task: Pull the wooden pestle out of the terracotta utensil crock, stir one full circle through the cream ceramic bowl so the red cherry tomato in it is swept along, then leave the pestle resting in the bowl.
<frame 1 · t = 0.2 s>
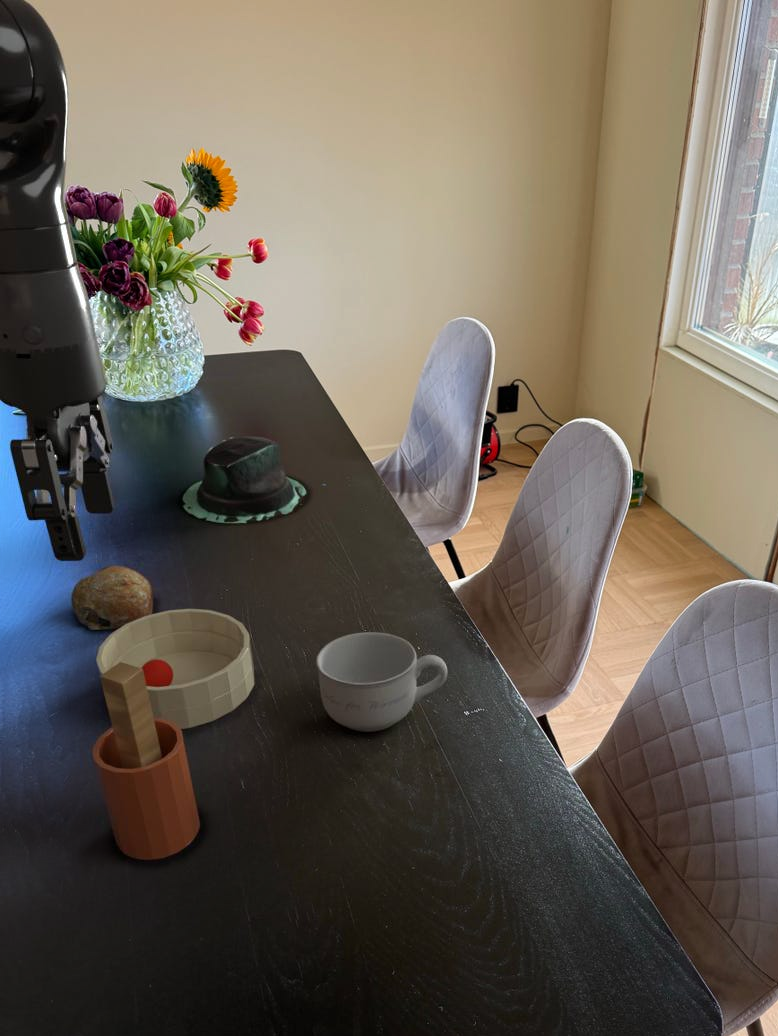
hand: (87, 534, 72), 28 cm above the table, tool pointing down, fingers open, 8 cm apart
dark fedora hat: (245, 498, 147), on the table
bowl: (182, 689, 102), on the table
bread roll: (117, 612, 116), on the table
wooden pestle: (158, 829, 82), point 1 cm above the table, touching crock
crock: (159, 834, 83), on the table
teacup: (383, 716, 99), on the table
tomato: (156, 675, 100), point 2 cm above the table, touching bowl
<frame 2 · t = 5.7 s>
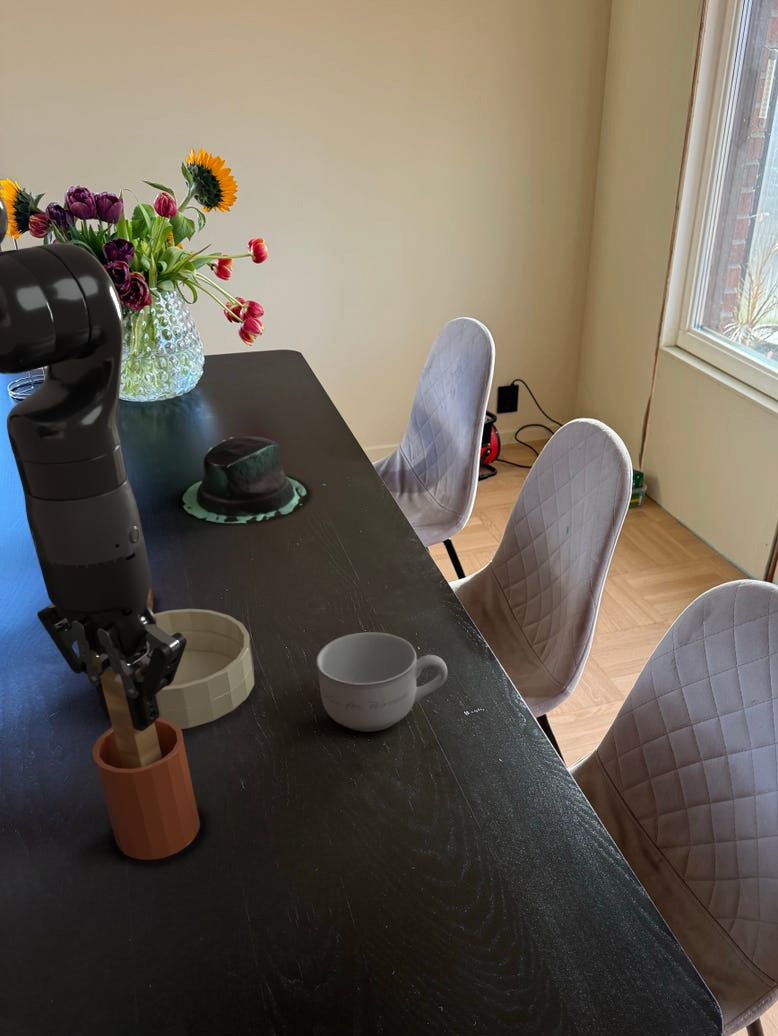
hand: (132, 719, 75), 14 cm above the table, tool pointing down, fingers closed on wooden pestle, 2 cm apart
wooden pestle: (158, 829, 82), point 1 cm above the table, touching crock, gripper
everything else where it was.
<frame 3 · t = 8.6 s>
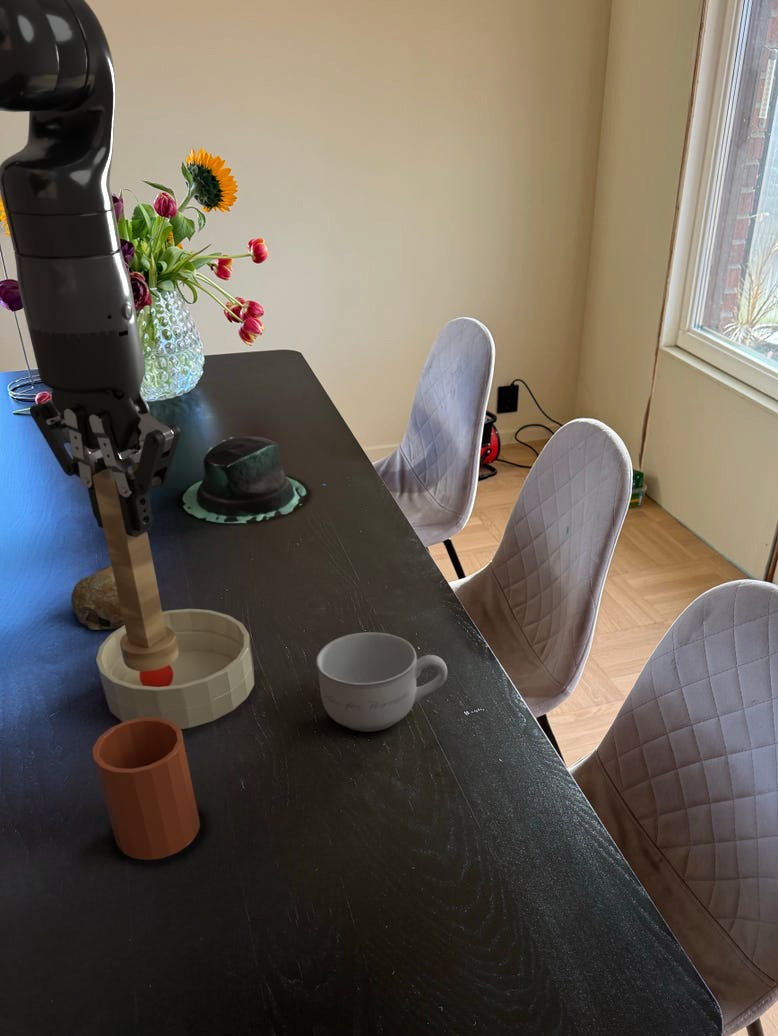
hand: (125, 528, 74), 28 cm above the table, tool pointing down, fingers closed on wooden pestle, 2 cm apart
wooden pestle: (151, 656, 81), point 15 cm above the table, touching gripper
everything else where it was.
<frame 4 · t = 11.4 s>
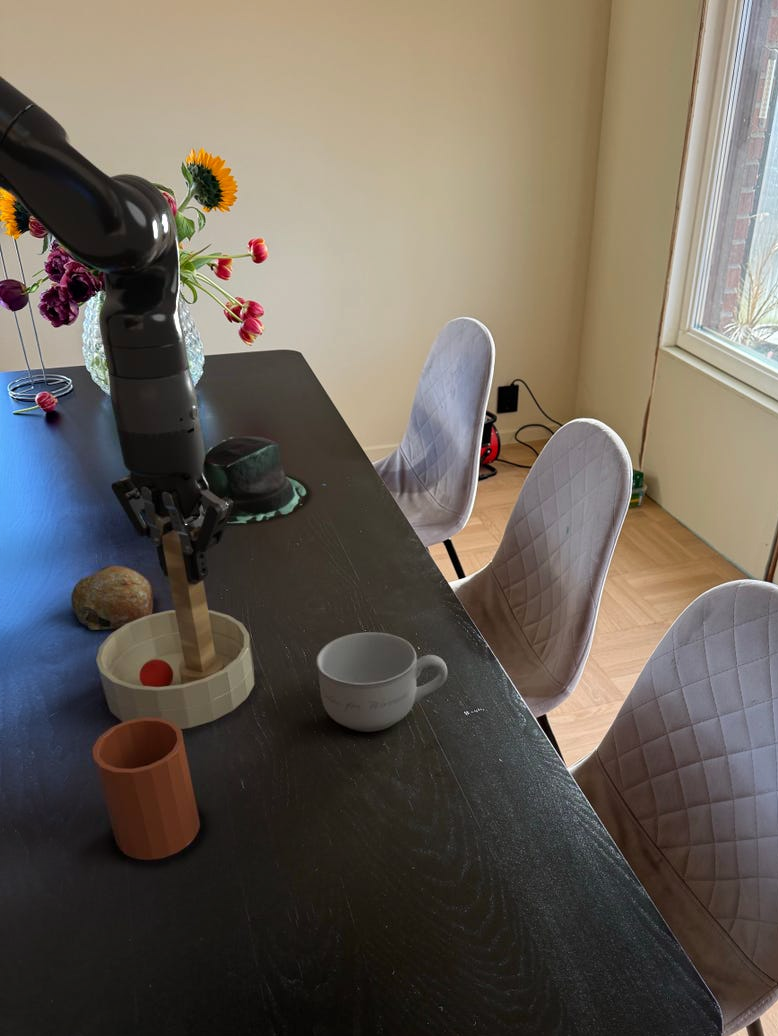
hand: (185, 577, 92), 16 cm above the table, tool pointing down, fingers closed on wooden pestle, 2 cm apart
wooden pestle: (203, 678, 99), point 2 cm above the table, touching gripper
everything else where it was.
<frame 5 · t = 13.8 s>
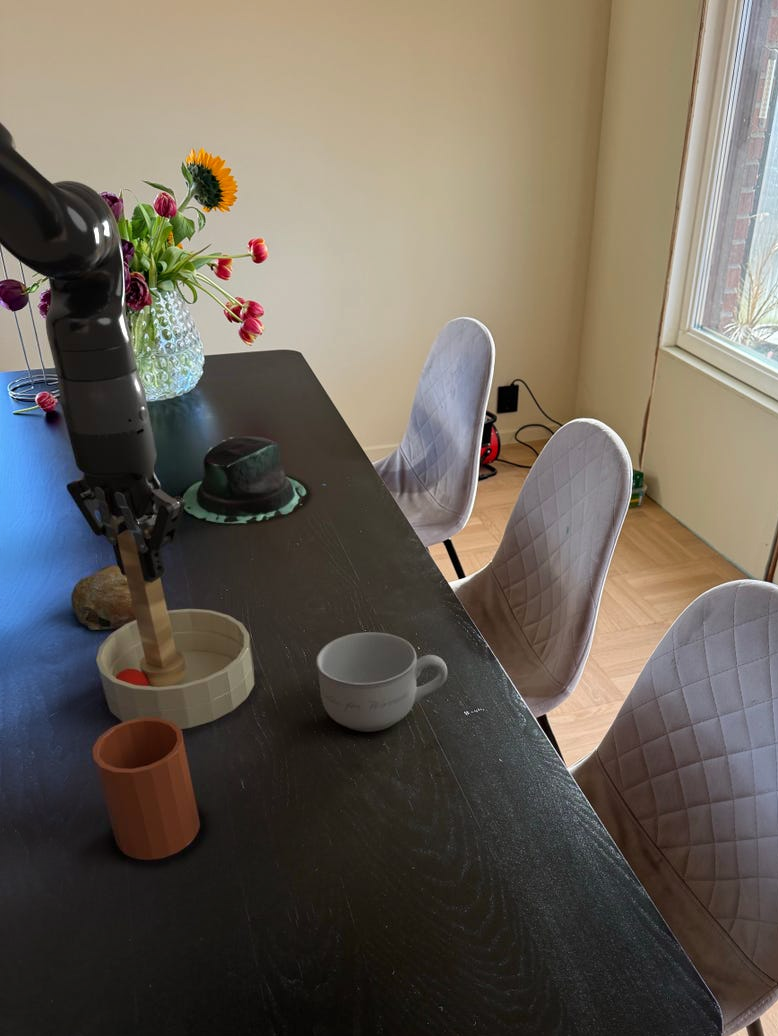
hand: (142, 575, 94), 15 cm above the table, tool pointing down, fingers closed on wooden pestle, 2 cm apart
wooden pestle: (165, 674, 101), point 2 cm above the table, touching gripper, tomato
tomato: (130, 684, 98), point 2 cm above the table, tilted 95°, touching bowl, wooden pestle
everything else where it was.
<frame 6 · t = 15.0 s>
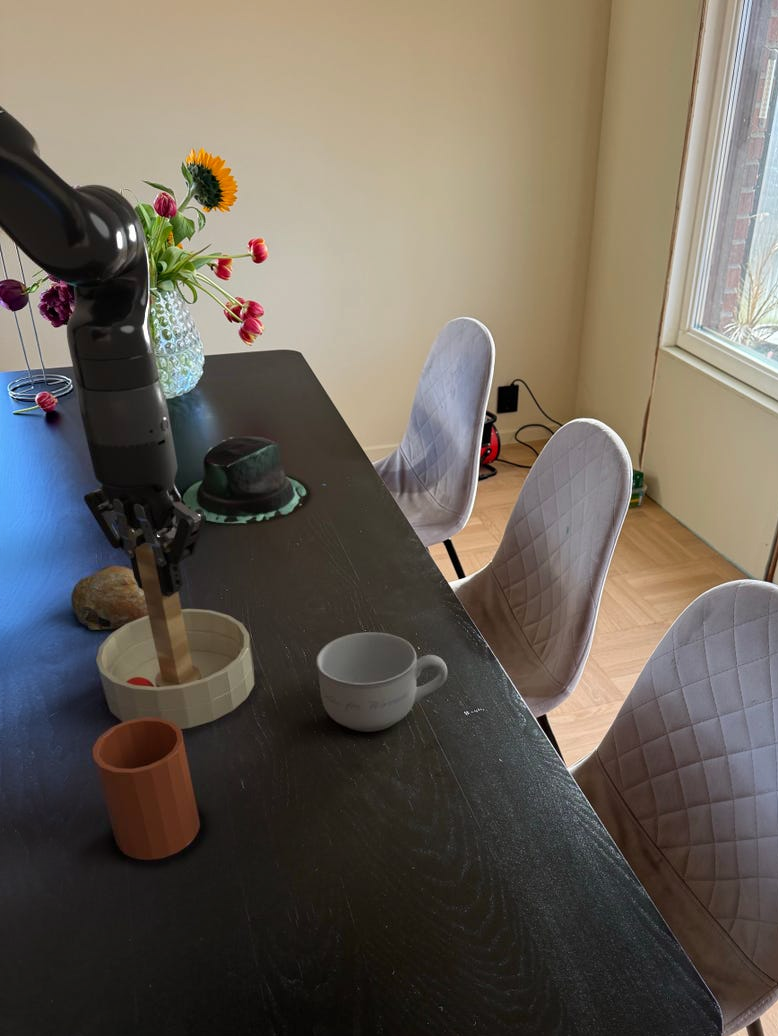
hand: (160, 588, 92), 15 cm above the table, tool pointing down, fingers closed on wooden pestle, 2 cm apart
wooden pestle: (180, 690, 99), point 2 cm above the table, touching gripper
tomato: (138, 693, 97), point 2 cm above the table, tilted 96°, touching bowl
everything else where it was.
when the fingers open (14 cm above the table, at t = 17.2 s): wooden pestle stays where it is, resting on bowl.
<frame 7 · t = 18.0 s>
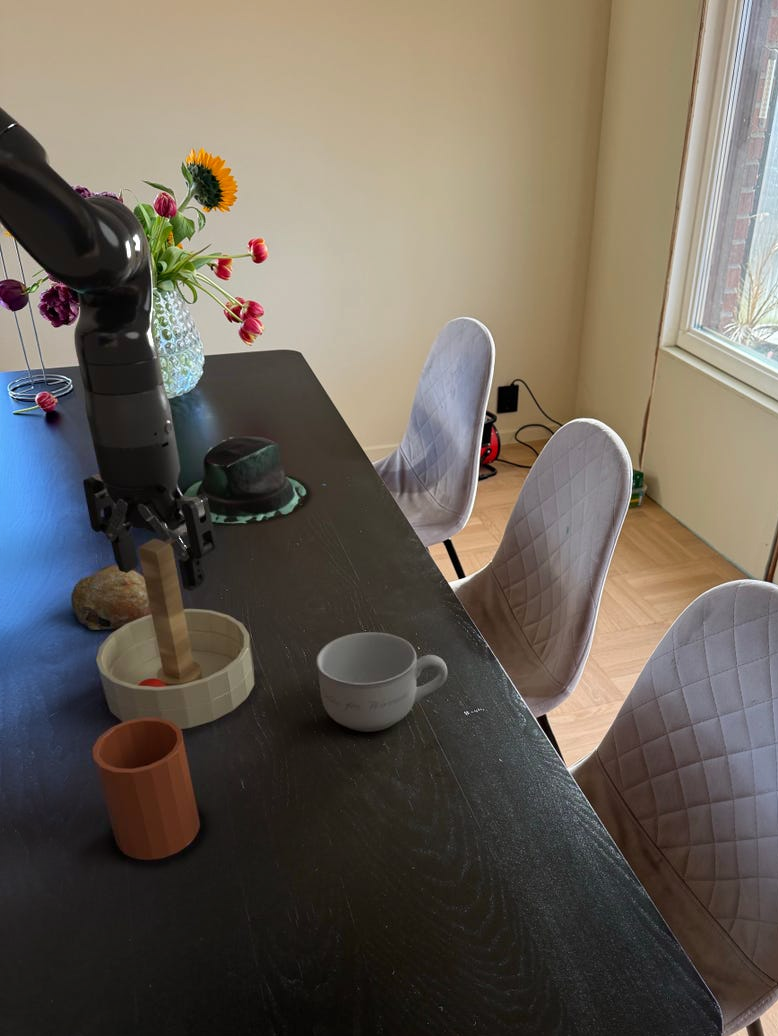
hand: (161, 578, 94), 15 cm above the table, tool pointing down, fingers open, 8 cm apart
wooden pestle: (181, 685, 101), point 1 cm above the table, touching bowl
tomato: (152, 694, 97), point 2 cm above the table, tilted 59°, touching bowl
everything else where it was.
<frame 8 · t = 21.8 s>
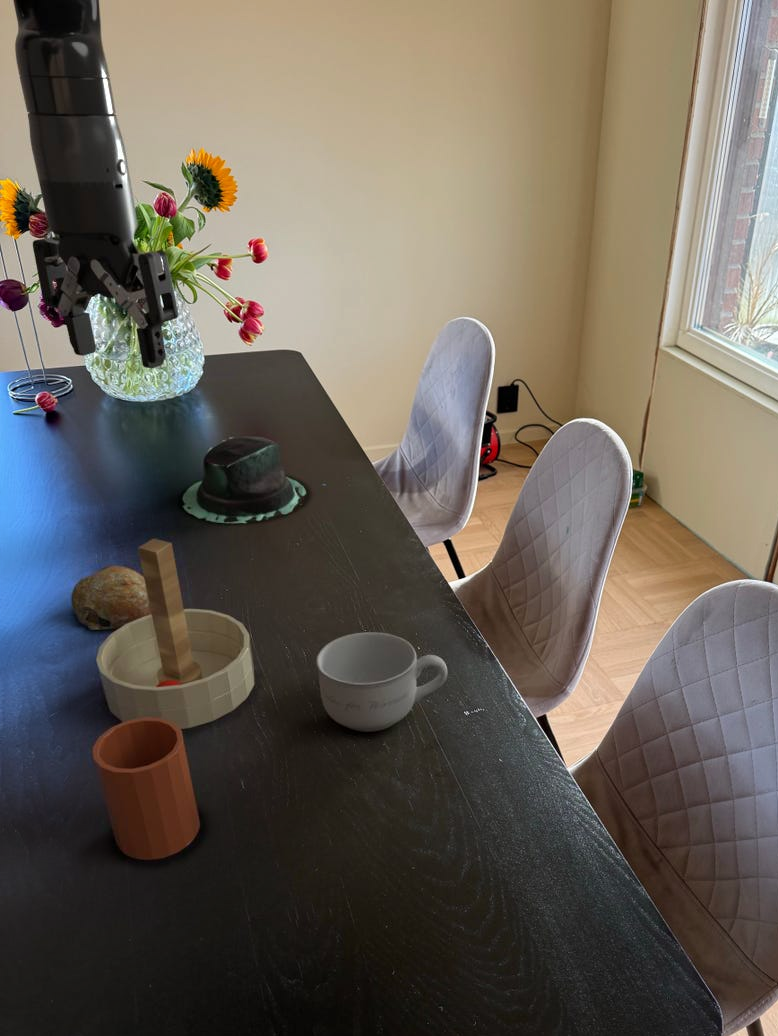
hand: (119, 359, 86), 36 cm above the table, tool pointing down, fingers open, 8 cm apart
tomato: (169, 696, 97), point 2 cm above the table, tilted 43°, touching bowl
everything else where it was.
at the end: wooden pestle inside the target area in the bowl (0.0 cm from its centre), point 0.6 cm above the bowl's base; tomato moved 4.8 cm from its start; tomato inside the target area in the bowl (4.4 cm from its centre), point 2.4 cm above the bowl's base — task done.
